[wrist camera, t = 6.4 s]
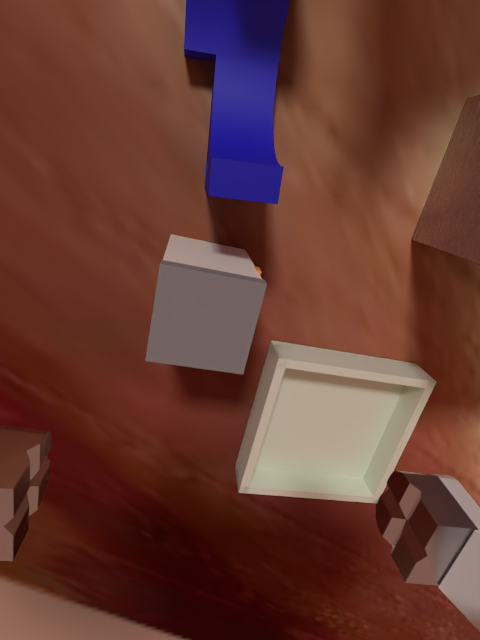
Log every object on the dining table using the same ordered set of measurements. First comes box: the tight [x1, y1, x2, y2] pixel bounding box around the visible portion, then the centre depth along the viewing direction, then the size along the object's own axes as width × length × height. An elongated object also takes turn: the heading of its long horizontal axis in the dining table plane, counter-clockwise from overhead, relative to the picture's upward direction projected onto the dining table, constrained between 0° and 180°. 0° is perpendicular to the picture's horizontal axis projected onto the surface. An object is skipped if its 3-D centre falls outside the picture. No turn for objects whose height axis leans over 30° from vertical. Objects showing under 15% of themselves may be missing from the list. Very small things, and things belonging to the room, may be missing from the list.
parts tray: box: [235, 340, 436, 503], centre depth 27 cm, size 11×11×2 cm
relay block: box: [145, 234, 267, 375], centre depth 20 cm, size 5×5×7 cm
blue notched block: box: [184, 0, 290, 204], centre depth 16 cm, size 12×4×6 cm, turn 173°
